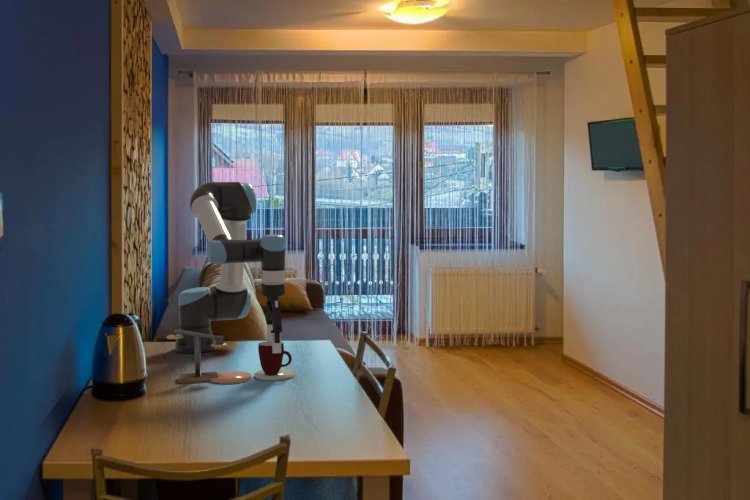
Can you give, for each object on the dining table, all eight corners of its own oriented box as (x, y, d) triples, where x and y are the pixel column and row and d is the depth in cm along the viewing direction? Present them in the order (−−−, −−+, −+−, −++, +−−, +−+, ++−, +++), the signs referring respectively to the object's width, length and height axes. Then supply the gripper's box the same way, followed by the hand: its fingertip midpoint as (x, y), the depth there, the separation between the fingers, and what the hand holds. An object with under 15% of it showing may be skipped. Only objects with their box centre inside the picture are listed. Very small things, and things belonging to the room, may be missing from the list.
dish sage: (252, 372, 248) (252, 370, 248) (291, 370, 252) (291, 367, 252) (256, 382, 236) (256, 379, 236) (297, 379, 239) (297, 376, 239)
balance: (167, 379, 240) (166, 328, 238) (227, 375, 245) (226, 325, 243) (167, 384, 234) (166, 331, 233) (228, 379, 239) (227, 328, 238)
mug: (291, 370, 246) (291, 340, 246) (291, 376, 238) (291, 345, 238) (259, 371, 245) (258, 341, 245) (258, 377, 237) (257, 346, 237)
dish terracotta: (208, 375, 244) (208, 372, 244) (249, 373, 248) (249, 370, 248) (210, 385, 232) (210, 382, 232) (253, 382, 235) (253, 379, 235)
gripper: (257, 278, 253) (257, 341, 254) (266, 288, 229) (267, 357, 230) (279, 278, 255) (279, 340, 256) (291, 287, 231) (291, 356, 232)
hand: (273, 348), depth 243 cm, fingers open, 13 cm apart
